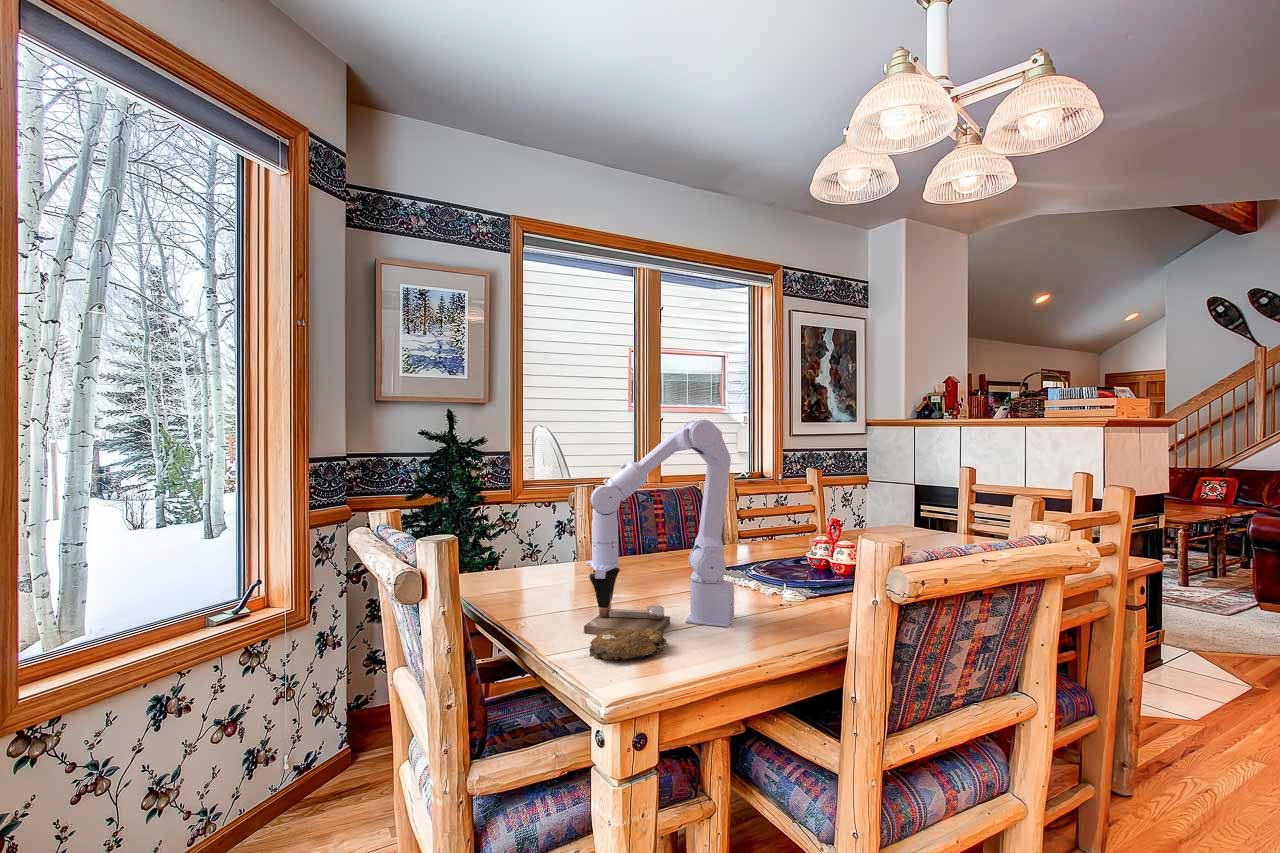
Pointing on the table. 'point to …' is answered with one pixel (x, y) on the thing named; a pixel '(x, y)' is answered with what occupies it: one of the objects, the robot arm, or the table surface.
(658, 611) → the lever
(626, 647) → the decorative rock
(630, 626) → the board
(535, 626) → the table surface
